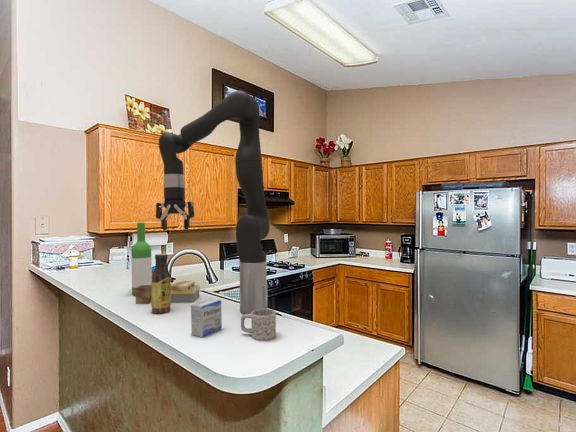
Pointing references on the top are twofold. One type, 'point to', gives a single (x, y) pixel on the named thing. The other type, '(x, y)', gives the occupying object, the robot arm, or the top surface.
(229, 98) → the robot arm
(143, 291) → the crate
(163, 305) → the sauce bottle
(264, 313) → the mug
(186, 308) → the top surface
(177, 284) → the pallet
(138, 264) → the wine bottle
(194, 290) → the yellow and gray block
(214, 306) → the medicine box
